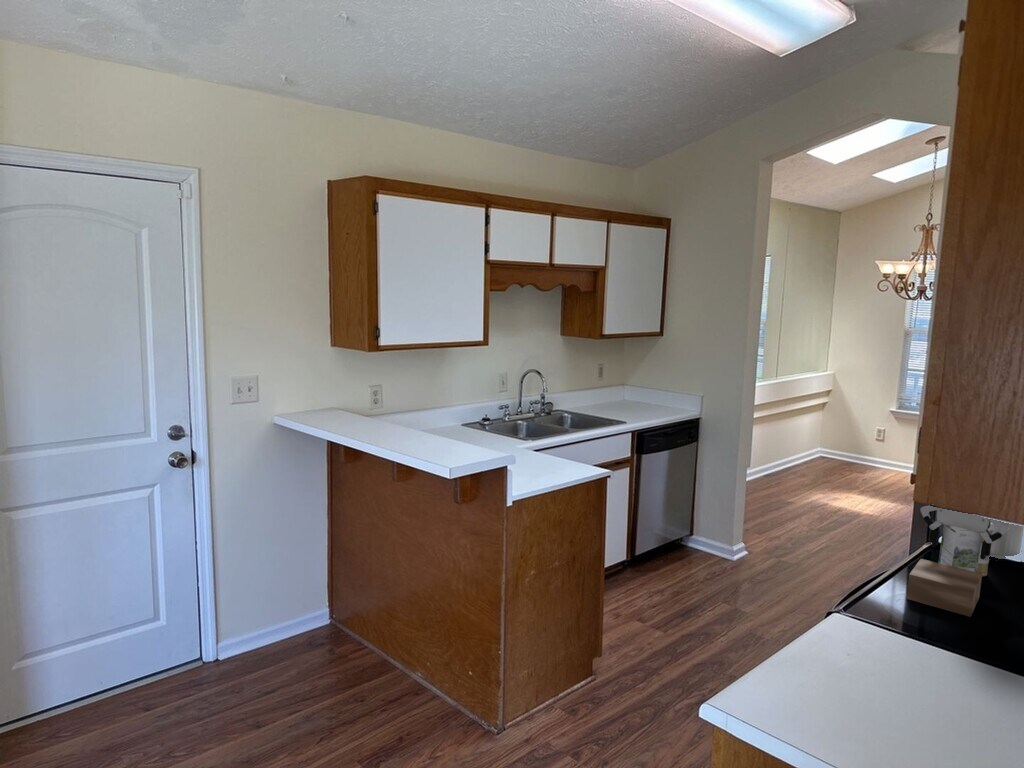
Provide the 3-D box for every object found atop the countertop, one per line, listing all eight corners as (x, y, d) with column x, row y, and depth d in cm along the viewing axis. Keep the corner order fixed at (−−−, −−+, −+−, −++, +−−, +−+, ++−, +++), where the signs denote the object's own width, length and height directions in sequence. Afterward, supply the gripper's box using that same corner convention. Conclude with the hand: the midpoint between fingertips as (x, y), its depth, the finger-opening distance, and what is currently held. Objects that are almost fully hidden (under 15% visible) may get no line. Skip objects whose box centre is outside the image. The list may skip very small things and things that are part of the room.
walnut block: (917, 582, 160) (920, 558, 160) (978, 599, 153) (982, 573, 152) (906, 599, 151) (909, 574, 151) (970, 618, 144) (974, 591, 143)
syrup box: (961, 579, 162) (968, 520, 160) (975, 590, 157) (983, 529, 154) (935, 577, 163) (943, 519, 161) (948, 588, 157) (956, 528, 155)
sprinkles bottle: (975, 568, 169) (982, 516, 167) (992, 576, 164) (999, 522, 162) (960, 570, 168) (967, 517, 166) (976, 577, 163) (984, 524, 161)
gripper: (1017, 485, 152) (1006, 559, 155) (930, 469, 165) (921, 537, 167) (1011, 491, 147) (1000, 567, 149) (921, 474, 159) (912, 544, 162)
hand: (958, 551), depth 158 cm, fingers open, 9 cm apart
